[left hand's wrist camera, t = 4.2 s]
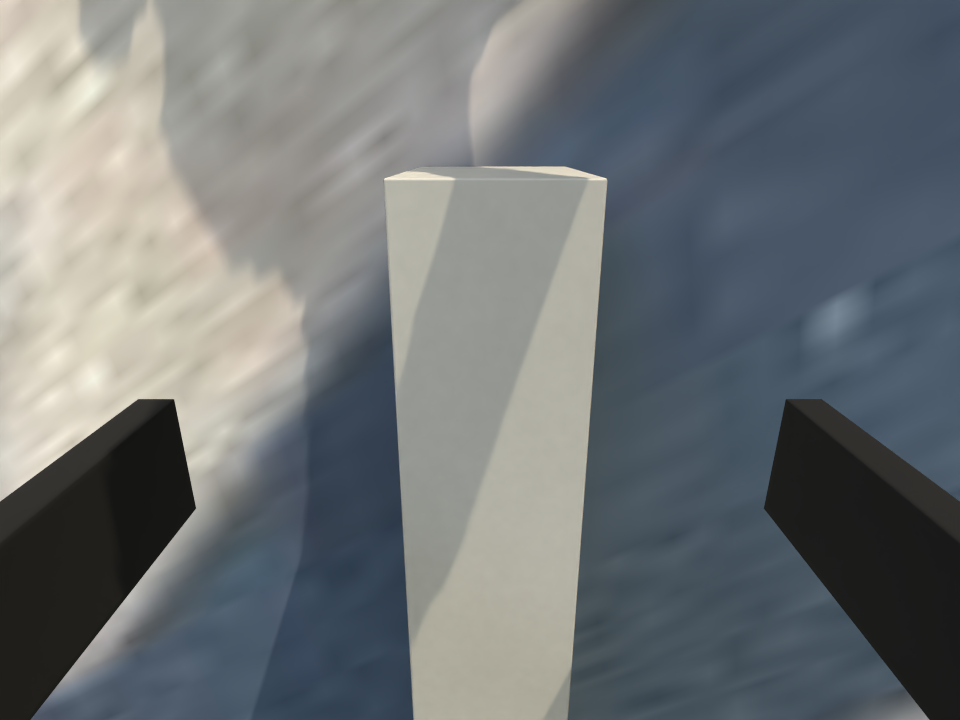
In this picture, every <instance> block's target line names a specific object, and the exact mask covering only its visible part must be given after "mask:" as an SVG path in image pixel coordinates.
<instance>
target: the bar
mask: <svg viewBox="0 0 960 720" xmlns="http://www.w3.org/2000/svg"><path fill="white" fill-rule="evenodd" d="M606 190H607V179H606V178H603V177H599V176H596V175H592V174H589V173H585V172H582V171H578V170H575V169H571V168H568V167H419V168H416V169H413V170H409V171H406V172H403V173H400V174H397V175H394V176H391V177H387V178H385V179H384V197H385V215H386V233H387V251H388V269H389V287H390V305H391V323H392V341H393V359H394V377H395V395H396V413H397V431H398V449H399V467H400V485H401V503H402V521H403V539H404V557H405V575H406V593H407V611H408V629H409V647H410V665H411V682H412V700H413V718H414V720H568V708H569V694H570V681H571V667H572V653H573V640H574V626H575V613H576V599H577V585H578V572H579V558H580V544H581V531H582V517H583V504H584V490H585V476H586V463H587V449H588V435H589V422H590V408H591V395H592V381H593V367H594V354H595V340H596V327H597V313H598V299H599V286H600V272H601V258H602V245H603V231H604V218H605V204H606Z"/></svg>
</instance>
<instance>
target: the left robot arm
mask: <svg viewBox="0 0 960 720" xmlns="http://www.w3.org/2000/svg"><path fill="white" fill-rule="evenodd" d="M195 509H196V506H195V501H194V496H193V491H192V486H191V481H190V476H189V471H188V466H187V461H186V456H185V452H184V447H183V442H182V437H181V432H180V427H179V422H178V417H177V412H176V407H175V402H174V399H138V400H137V401H135V402H134V403H133V404H131V405H130V406H129V407H127V408H126V409H125V410H123V411H122V412H121V413H119V414H118V415H116V416H115V417H114V418H112V419H111V420H110V421H108V422H107V423H106V424H104V425H103V426H102V427H100V428H99V429H98V430H96V431H95V432H94V433H92V434H91V435H90V436H88V437H87V438H85V439H84V440H83V441H81V442H80V443H79V444H77V445H76V446H75V447H73V448H72V449H71V450H69V451H68V452H67V453H65V454H64V455H63V456H61V457H60V458H58V459H57V460H56V461H54V462H53V463H52V464H50V465H49V466H48V467H46V468H45V469H44V470H42V471H41V472H40V473H38V474H37V475H36V476H34V477H33V478H32V479H30V480H29V481H27V482H26V483H25V484H23V485H22V486H21V487H19V488H18V489H17V490H15V491H14V492H13V493H11V494H10V495H9V496H7V497H6V498H5V499H3V500H2V501H0V720H31V718H32V717H33V716H34V714H35V713H36V712H37V711H38V709H39V708H40V707H41V705H42V704H43V703H44V702H45V700H46V699H47V698H48V697H49V695H50V694H51V693H52V691H53V690H54V689H55V688H56V686H57V685H58V684H59V683H60V681H61V680H62V679H63V677H64V676H65V675H66V674H67V672H68V671H69V670H70V668H71V667H72V666H73V665H74V663H75V662H76V661H77V660H78V658H79V657H80V656H81V654H82V653H83V652H84V651H85V649H86V648H87V647H88V646H89V644H90V643H91V642H92V640H93V639H94V638H95V637H96V635H97V634H98V633H99V631H100V630H101V629H102V628H103V626H104V625H105V624H106V623H107V621H108V620H109V619H110V617H111V616H112V615H113V614H114V612H115V611H116V610H117V609H118V607H119V606H120V605H121V603H122V602H123V601H124V600H125V598H126V597H127V596H128V594H129V593H130V592H131V591H132V589H133V588H134V587H135V586H136V584H137V583H138V582H139V580H140V579H141V578H142V577H143V575H144V574H145V573H146V572H147V570H148V569H149V568H150V566H151V565H152V564H153V563H154V561H155V560H156V559H157V557H158V556H159V555H160V554H161V552H162V551H163V550H164V549H165V547H166V546H167V545H168V543H169V542H170V541H171V540H172V538H173V537H174V536H175V535H176V533H177V532H178V531H179V529H180V528H181V527H182V526H183V524H184V523H185V522H186V520H187V519H188V518H189V517H190V515H191V514H192V513H193V512H194V510H195ZM764 509H765V510H766V512H767V513H768V514H769V515H770V517H771V518H772V519H773V520H774V522H775V523H776V524H777V526H778V527H779V528H780V529H781V531H782V532H783V533H784V535H785V536H786V537H787V538H788V540H789V541H790V542H791V543H792V545H793V546H794V547H795V549H796V550H797V551H798V552H799V554H800V555H801V556H802V557H803V559H804V560H805V561H806V563H807V564H808V565H809V566H810V568H811V569H812V570H813V572H814V573H815V574H816V575H817V577H818V578H819V579H820V580H821V582H822V583H823V584H824V586H825V587H826V588H827V589H828V591H829V592H830V593H831V594H832V596H833V597H834V598H835V600H836V601H837V602H838V603H839V605H840V606H841V607H842V609H843V610H844V611H845V612H846V614H847V615H848V616H849V617H850V619H851V620H852V621H853V623H854V624H855V625H856V626H857V628H858V629H859V630H860V631H861V633H862V634H863V635H864V637H865V638H866V639H867V640H868V642H869V643H870V644H871V646H872V647H873V648H874V649H875V651H876V652H877V653H878V654H879V656H880V657H881V658H882V660H883V661H884V662H885V663H886V665H887V666H888V667H889V668H890V670H891V671H892V672H893V674H894V675H895V676H896V677H897V679H898V680H899V681H900V683H901V684H902V685H903V686H904V688H905V689H906V690H907V691H908V693H909V694H910V695H911V697H912V698H913V699H914V700H915V702H916V703H917V704H918V705H919V707H920V708H921V709H922V711H923V712H924V713H925V714H926V716H927V717H928V718H929V720H960V501H958V500H957V499H955V498H954V497H953V496H951V495H950V494H949V493H947V492H946V491H945V490H943V489H942V488H941V487H939V486H938V485H937V484H935V483H934V482H933V481H931V480H930V479H928V478H927V477H926V476H924V475H923V474H922V473H920V472H919V471H918V470H916V469H915V468H914V467H912V466H911V465H910V464H908V463H907V462H906V461H904V460H903V459H902V458H900V457H899V456H897V455H896V454H895V453H893V452H892V451H891V450H889V449H888V448H887V447H885V446H884V445H883V444H881V443H880V442H879V441H877V440H876V439H875V438H873V437H872V436H870V435H869V434H868V433H866V432H865V431H864V430H862V429H861V428H860V427H858V426H857V425H856V424H854V423H853V422H852V421H850V420H849V419H848V418H846V417H845V416H844V415H842V414H841V413H839V412H838V411H837V410H835V409H834V408H833V407H831V406H830V405H829V404H827V403H826V402H825V401H823V400H822V399H786V402H785V407H784V412H783V417H782V422H781V427H780V432H779V437H778V442H777V447H776V452H775V456H774V461H773V466H772V471H771V476H770V481H769V486H768V491H767V496H766V501H765V506H764Z"/></svg>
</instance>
